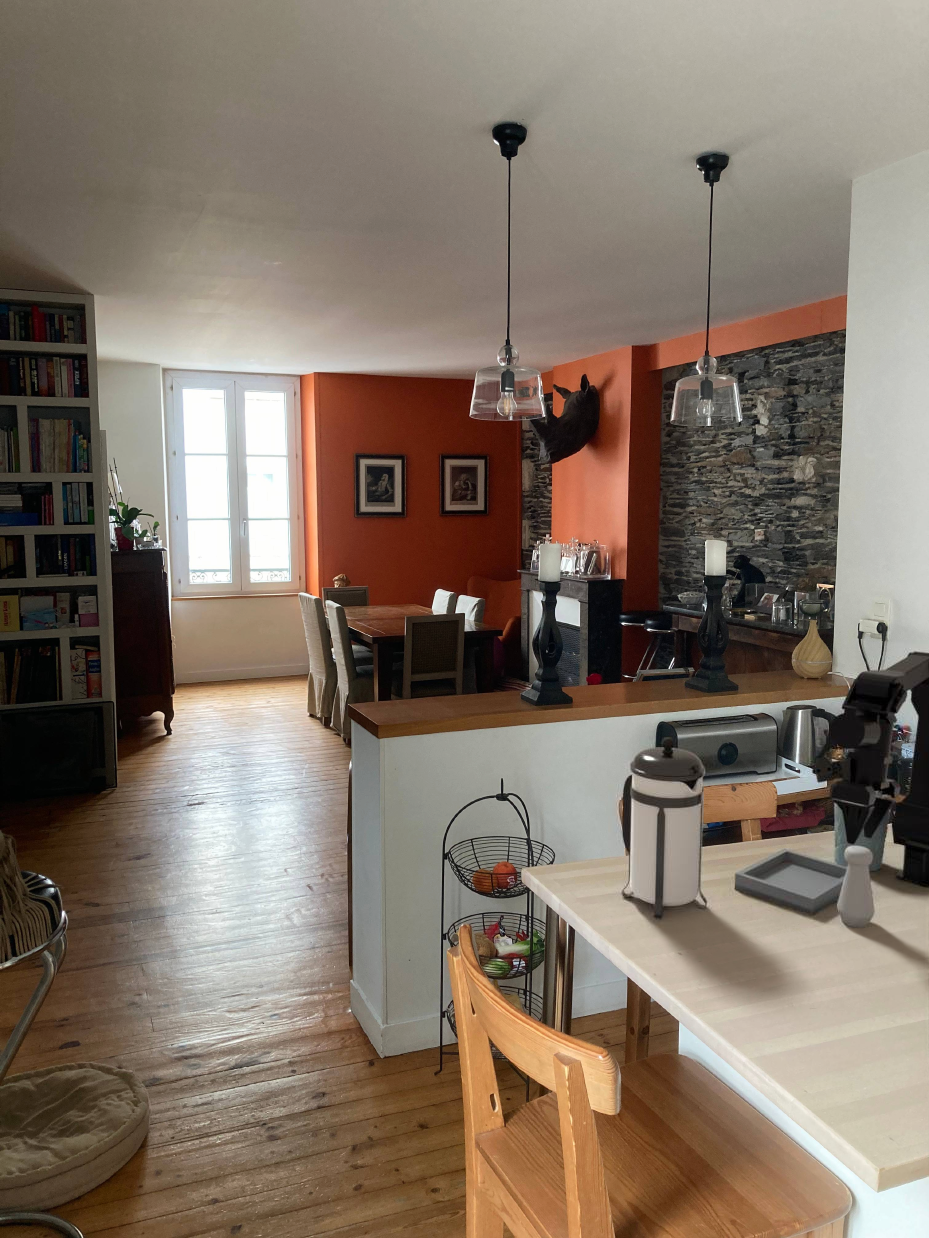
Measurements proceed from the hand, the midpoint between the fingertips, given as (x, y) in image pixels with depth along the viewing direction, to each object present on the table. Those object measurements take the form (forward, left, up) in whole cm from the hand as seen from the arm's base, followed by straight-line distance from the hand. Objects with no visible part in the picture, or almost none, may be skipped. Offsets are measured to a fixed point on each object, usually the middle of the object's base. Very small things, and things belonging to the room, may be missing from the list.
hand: (859, 840), depth 153 cm
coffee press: (+17, -28, -15) cm, 36 cm away
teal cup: (-26, -11, -15) cm, 32 cm away
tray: (-6, -14, -14) cm, 21 cm away
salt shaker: (0, 0, -15) cm, 15 cm away
